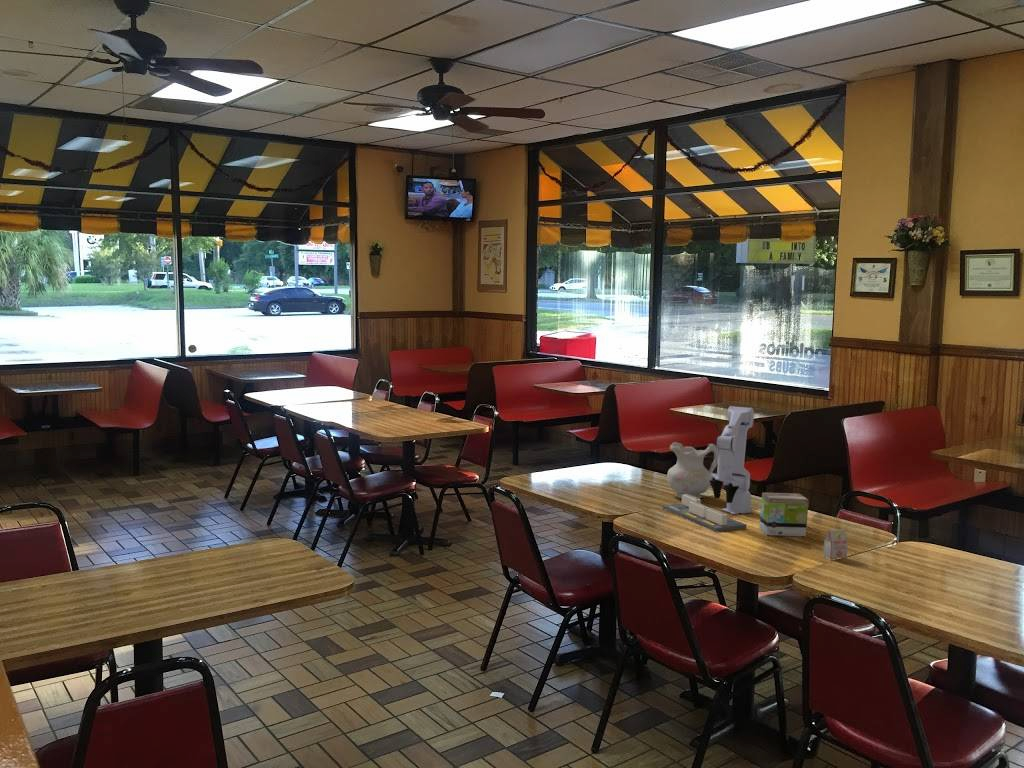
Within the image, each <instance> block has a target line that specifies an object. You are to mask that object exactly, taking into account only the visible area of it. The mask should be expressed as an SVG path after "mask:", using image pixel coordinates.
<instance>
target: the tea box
mask: <svg viewBox="0 0 1024 768" xmlns="http://www.w3.org/2000/svg"><path fill="white" fill-rule="evenodd" d="M760 501H761V503H760V511H759V512H760V514H759V530H760V531H761V532H762V533H764V535H765V536H767V535H769V536H782V537H785V536H786V537H801V536H805V537H806V535H807V527H808V513H809V501H810V500H809V499H808V498H806V497H805V496H804V495H802V494H801V493H795V492H794V493H793V492H792V493H791V492H790V493H789V492H788V493H787V492H762V493H761V500H760Z"/></svg>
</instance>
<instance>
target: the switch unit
mask: <svg viewBox="0 0 1024 768" xmlns="http://www.w3.org/2000/svg"><path fill="white" fill-rule="evenodd" d="M664 509H666V510H668V511H670V512H669V513H671V512H672V514H673V513H674V514H673V515H675V514H677V515H676V516H678V515H679V516H678V517H680V516H681V518H682V517H683V518H682V519H685V518H686V519H685V520H687V519H688V520H687V521H689V520H690V522H691V523H694V522H695V523H694V524H696V523H697V524H696V525H698V524H699V526H701V525H702V526H701V527H703V526H704V527H703V528H705V527H706V528H705V529H708V528H709V530H710V529H711V530H710V531H712V530H713V531H712V532H715V533H718V532H717V531H719V532H726V531H725V530H728V531H734V529H737V530H745V529H744V528H746V529H747V524H745V523H743V522H740V521H737V520H735V519H734V518H731V517H728V516H727V525H719V524H717V523H714V522H712V521H710V520H707V519H706V518H703V517H700V516H698V515H695V514H693V513H691V512H689V507H687V506H685V505H683V504H682V503H676V504H665V505H663V504H662V510H664ZM666 510H665V511H666ZM668 511H667V512H668Z"/></svg>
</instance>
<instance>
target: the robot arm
mask: <svg viewBox="0 0 1024 768" xmlns="http://www.w3.org/2000/svg"><path fill="white" fill-rule="evenodd" d="M726 416H727V420H728V422H729V423H728V424H727V425H725V426H724V429H723V430H722V432H721V435H719V436H717V438H716V439H717V440H716V448H717V454H718V463H717V465H716V468H717V471H716V473H715V472H713V473H712V474H711V479H712V480H710V486H711V489H712V492H713V496H714V499H720V497H721V494H722V493H721V492H722V487H724V489H725V495H726V497H725V498H726V499H725V500H726V507H725V508H724V507H723V508H722V509H721V511H725V512H727V513H729V512H730V513H729V514H733V515H739V513H741V514H749V513H752V512H753V511H752V510H751V509H752V508H751V507H752V494H751V492H750V491H749V489H750V485H751V473H750V471H748V470H747V469H746V468H745V458H746V457H745V456H746V447H747V435H748V431H749V429H750V428H753V425H754V418H755V417H754V416H755V410H754V408H753V407H742V406H733V405H730V406H729V407H728V409H727V415H726Z"/></svg>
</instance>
